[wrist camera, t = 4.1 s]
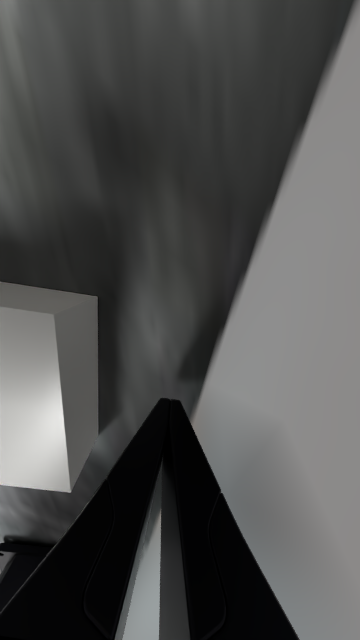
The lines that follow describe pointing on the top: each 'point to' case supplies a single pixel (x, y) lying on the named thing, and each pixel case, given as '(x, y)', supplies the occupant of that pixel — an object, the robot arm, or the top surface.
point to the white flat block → (47, 385)
